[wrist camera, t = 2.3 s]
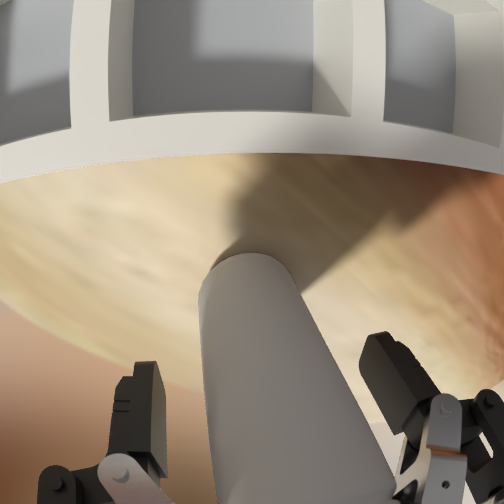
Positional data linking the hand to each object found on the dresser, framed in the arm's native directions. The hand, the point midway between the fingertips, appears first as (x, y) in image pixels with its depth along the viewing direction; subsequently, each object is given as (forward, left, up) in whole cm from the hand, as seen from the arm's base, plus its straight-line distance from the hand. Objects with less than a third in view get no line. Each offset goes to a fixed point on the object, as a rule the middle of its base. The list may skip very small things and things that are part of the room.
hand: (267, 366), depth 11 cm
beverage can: (0, 0, -6) cm, 6 cm away
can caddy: (+1, -12, -5) cm, 13 cm away
